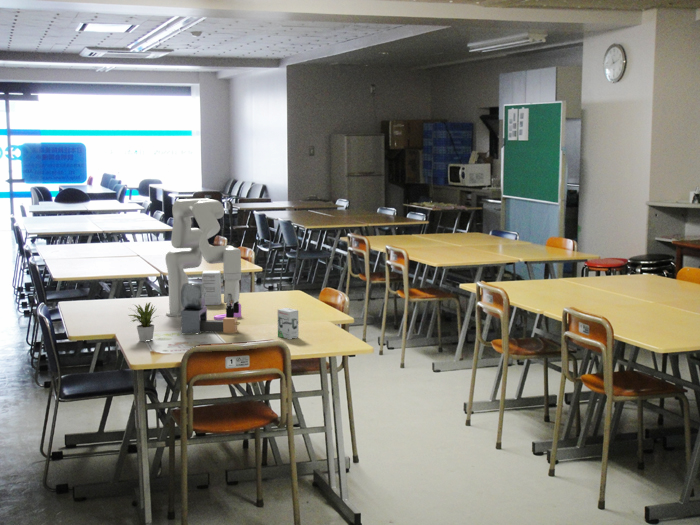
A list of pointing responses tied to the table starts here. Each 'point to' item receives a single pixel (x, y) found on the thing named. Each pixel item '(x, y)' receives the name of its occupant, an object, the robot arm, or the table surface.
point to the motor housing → (193, 307)
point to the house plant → (144, 322)
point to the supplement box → (212, 287)
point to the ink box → (288, 323)
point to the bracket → (221, 317)
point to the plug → (220, 325)
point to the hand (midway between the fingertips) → (232, 315)
